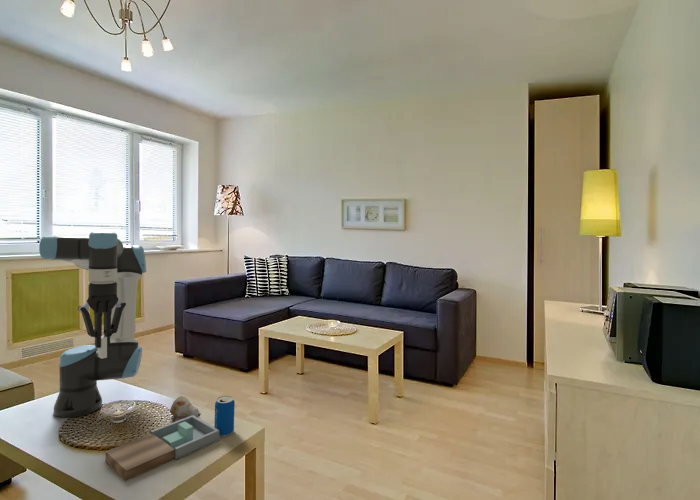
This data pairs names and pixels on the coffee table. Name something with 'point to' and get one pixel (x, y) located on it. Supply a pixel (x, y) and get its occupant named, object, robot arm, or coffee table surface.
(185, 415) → the mug
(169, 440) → the tile near
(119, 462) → the walnut board
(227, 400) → the beverage can
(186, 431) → the tile far
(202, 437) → the tray
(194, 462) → the coffee table surface
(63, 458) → the coffee table surface
